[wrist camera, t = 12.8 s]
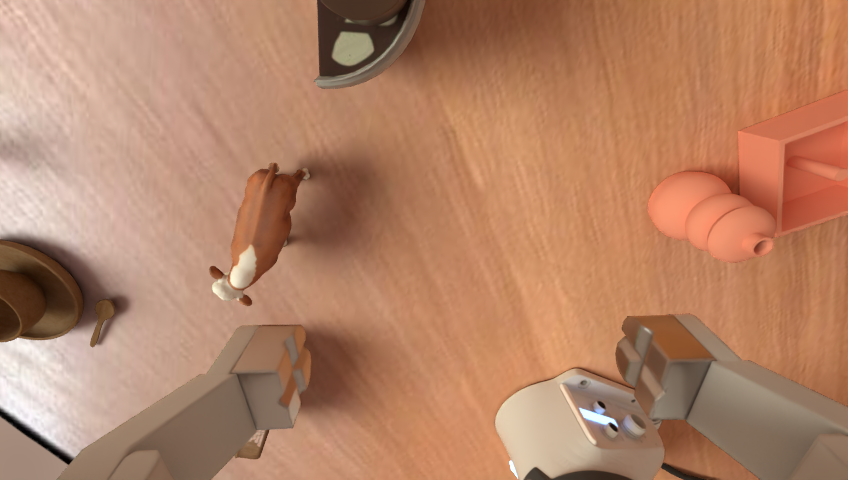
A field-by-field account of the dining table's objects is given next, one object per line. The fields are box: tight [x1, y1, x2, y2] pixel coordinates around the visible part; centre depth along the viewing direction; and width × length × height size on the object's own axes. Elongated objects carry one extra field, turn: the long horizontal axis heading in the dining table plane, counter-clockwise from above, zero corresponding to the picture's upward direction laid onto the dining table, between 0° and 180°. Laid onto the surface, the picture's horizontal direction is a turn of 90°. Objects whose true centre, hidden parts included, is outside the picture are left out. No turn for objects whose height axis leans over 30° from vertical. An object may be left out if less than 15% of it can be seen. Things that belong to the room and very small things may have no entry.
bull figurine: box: [209, 163, 310, 306], centre depth 32 cm, size 4×13×8 cm, turn 151°
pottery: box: [648, 90, 848, 263], centre depth 31 cm, size 18×10×10 cm, turn 113°
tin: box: [235, 429, 270, 459], centre depth 41 cm, size 15×3×8 cm, turn 158°
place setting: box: [0, 240, 115, 347], centre depth 35 cm, size 18×20×6 cm
